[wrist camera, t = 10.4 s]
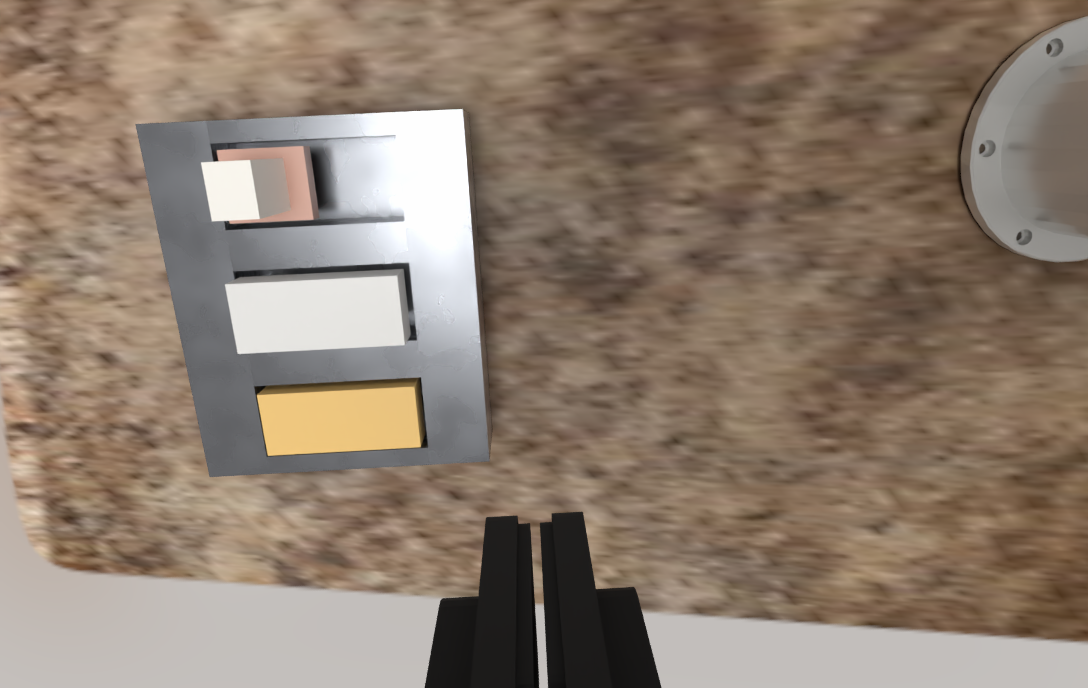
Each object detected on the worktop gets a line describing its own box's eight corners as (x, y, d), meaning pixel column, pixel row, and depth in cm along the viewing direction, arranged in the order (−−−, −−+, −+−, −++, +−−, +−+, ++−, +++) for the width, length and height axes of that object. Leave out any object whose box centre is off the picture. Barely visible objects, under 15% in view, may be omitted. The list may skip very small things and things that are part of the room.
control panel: (469, 113, 35) (462, 109, 31) (492, 430, 40) (489, 461, 36) (178, 126, 34) (135, 124, 31) (239, 444, 40) (209, 476, 36)
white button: (403, 268, 33) (397, 275, 31) (410, 334, 34) (404, 345, 32) (240, 277, 33) (224, 284, 31) (252, 343, 34) (237, 353, 32)
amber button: (419, 375, 36) (414, 386, 34) (425, 433, 37) (420, 447, 35) (269, 383, 36) (256, 395, 34) (279, 441, 37) (267, 455, 35)
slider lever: (309, 146, 32) (272, 146, 27) (319, 217, 33) (285, 229, 28) (225, 149, 32) (173, 150, 27) (238, 221, 33) (190, 234, 28)
